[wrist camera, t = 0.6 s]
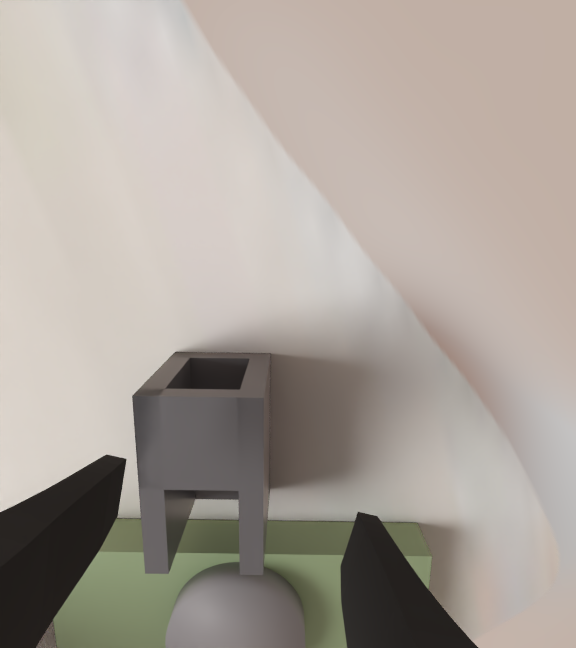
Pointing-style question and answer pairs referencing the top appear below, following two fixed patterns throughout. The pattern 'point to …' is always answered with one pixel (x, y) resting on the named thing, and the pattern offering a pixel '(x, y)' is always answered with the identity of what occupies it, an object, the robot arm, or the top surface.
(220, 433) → the chute
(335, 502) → the top surface
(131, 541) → the notched green slab
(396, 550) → the robot arm
